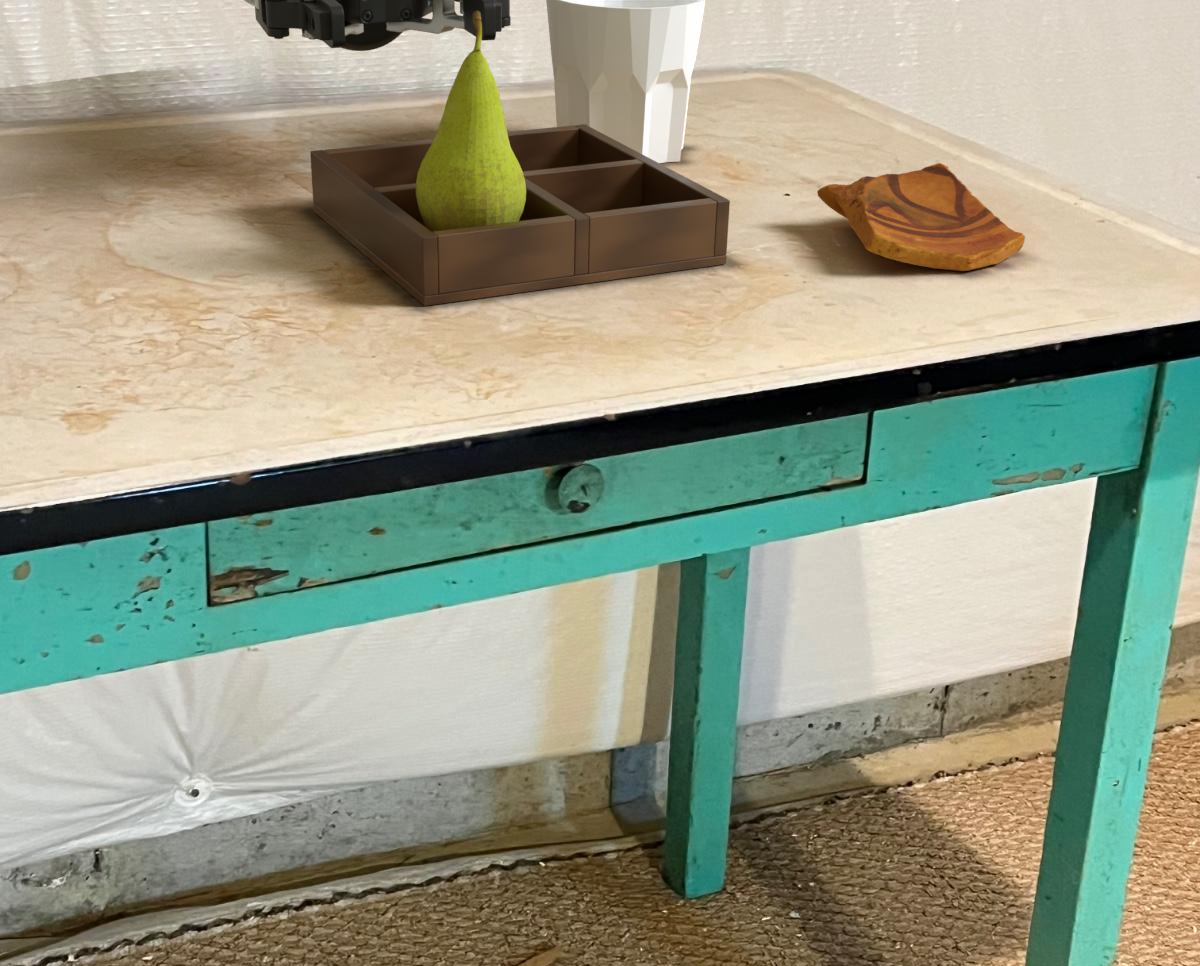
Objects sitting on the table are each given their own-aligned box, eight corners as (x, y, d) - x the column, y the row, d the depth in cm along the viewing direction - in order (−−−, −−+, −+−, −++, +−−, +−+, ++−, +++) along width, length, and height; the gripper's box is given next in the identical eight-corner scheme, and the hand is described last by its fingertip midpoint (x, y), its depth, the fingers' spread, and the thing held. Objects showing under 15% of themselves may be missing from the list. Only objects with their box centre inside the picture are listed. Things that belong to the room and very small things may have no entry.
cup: (610, 181, 105) (615, 14, 100) (514, 146, 112) (514, -12, 107) (729, 157, 110) (739, -2, 106) (630, 125, 117) (635, -26, 112)
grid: (424, 306, 84) (422, 237, 83) (313, 211, 98) (309, 150, 96) (726, 264, 91) (730, 200, 90) (584, 181, 105) (585, 124, 103)
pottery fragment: (944, 159, 99) (1047, 175, 91) (943, 239, 101) (1045, 261, 92) (791, 178, 96) (883, 196, 87) (793, 260, 98) (883, 285, 89)
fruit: (440, 277, 86) (435, 32, 80) (401, 244, 91) (393, 10, 85) (544, 264, 88) (546, 25, 82) (501, 232, 93) (500, 3, 87)
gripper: (223, -87, 101) (281, -44, 88) (452, -93, 106) (539, -53, 93) (233, 43, 105) (290, 102, 92) (454, 32, 110) (538, 87, 97)
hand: (415, 24), depth 92 cm, fingers open, 8 cm apart
